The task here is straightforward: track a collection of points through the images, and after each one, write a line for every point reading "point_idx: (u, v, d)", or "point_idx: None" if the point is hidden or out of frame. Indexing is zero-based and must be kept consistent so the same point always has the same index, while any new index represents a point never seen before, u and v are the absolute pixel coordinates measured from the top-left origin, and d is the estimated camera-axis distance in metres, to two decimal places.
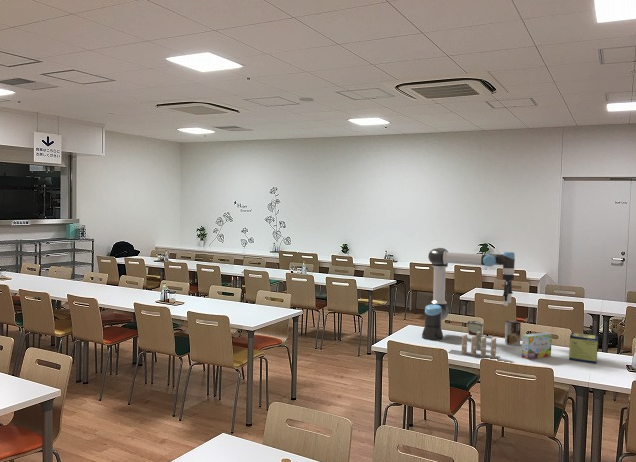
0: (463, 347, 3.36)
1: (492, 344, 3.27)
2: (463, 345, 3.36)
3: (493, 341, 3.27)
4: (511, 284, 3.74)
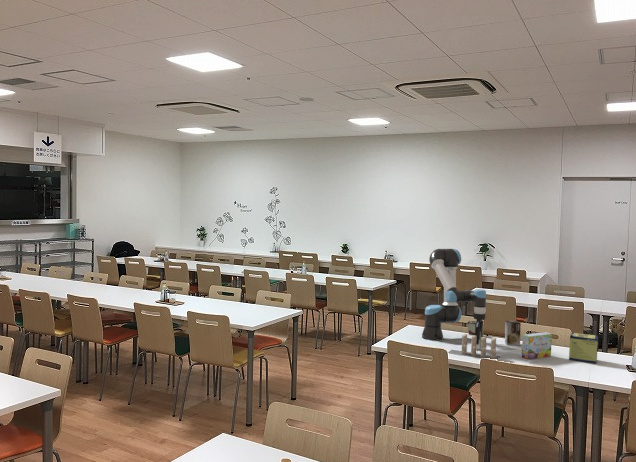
0: (463, 347, 3.36)
1: (492, 344, 3.27)
2: (463, 345, 3.36)
3: (493, 341, 3.27)
4: (482, 326, 3.54)
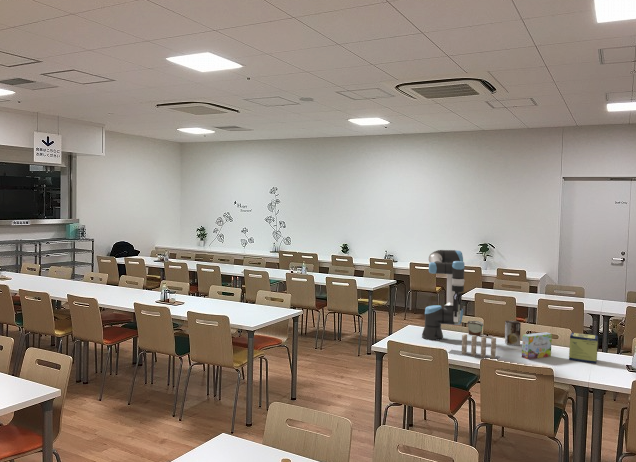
0: (463, 347, 3.36)
1: (492, 344, 3.27)
2: (463, 345, 3.36)
3: (493, 341, 3.27)
4: (461, 298, 3.45)
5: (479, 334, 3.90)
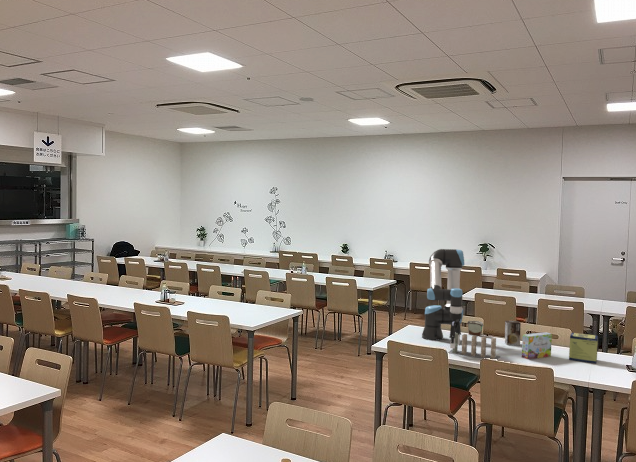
0: (463, 347, 3.36)
1: (492, 344, 3.27)
2: (463, 345, 3.36)
3: (493, 341, 3.27)
4: None
5: (479, 334, 3.90)
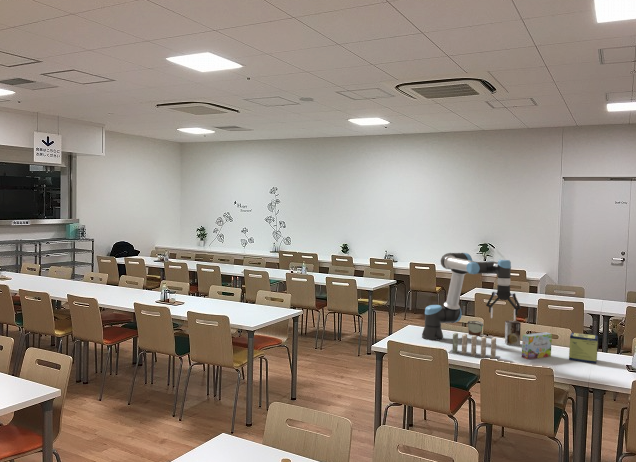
0: (463, 347, 3.36)
1: (492, 344, 3.27)
2: (463, 345, 3.36)
3: (493, 341, 3.27)
4: (515, 299, 3.21)
5: (479, 334, 3.90)
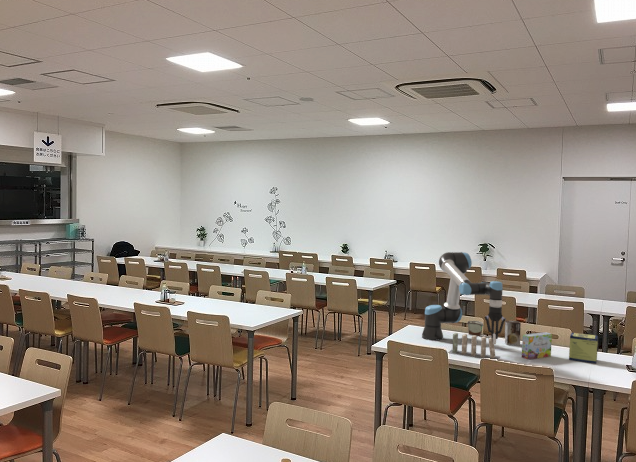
0: (463, 347, 3.36)
1: (490, 344, 3.28)
2: (463, 345, 3.36)
3: (490, 341, 3.28)
4: (502, 323, 3.26)
5: (479, 334, 3.90)
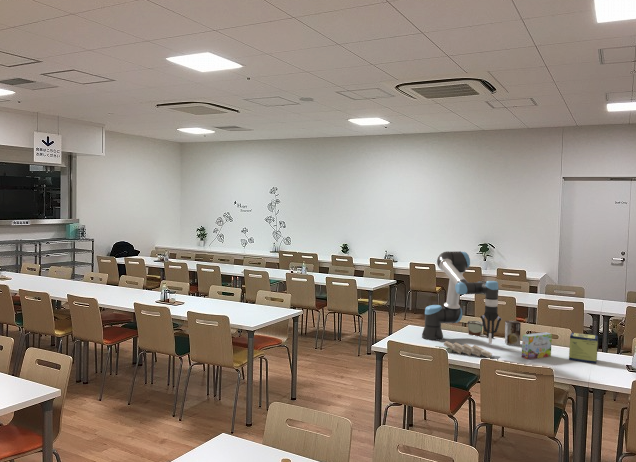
0: (454, 349, 3.39)
1: (476, 350, 3.32)
2: (452, 348, 3.40)
3: (474, 348, 3.33)
4: (498, 323, 3.27)
5: (479, 334, 3.90)
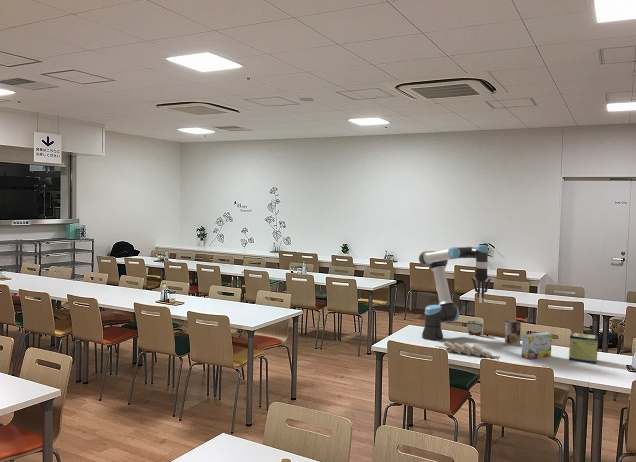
0: (454, 349, 3.39)
1: (476, 350, 3.32)
2: (452, 348, 3.40)
3: (474, 348, 3.33)
4: (488, 283, 3.54)
5: (479, 334, 3.90)
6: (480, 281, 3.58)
